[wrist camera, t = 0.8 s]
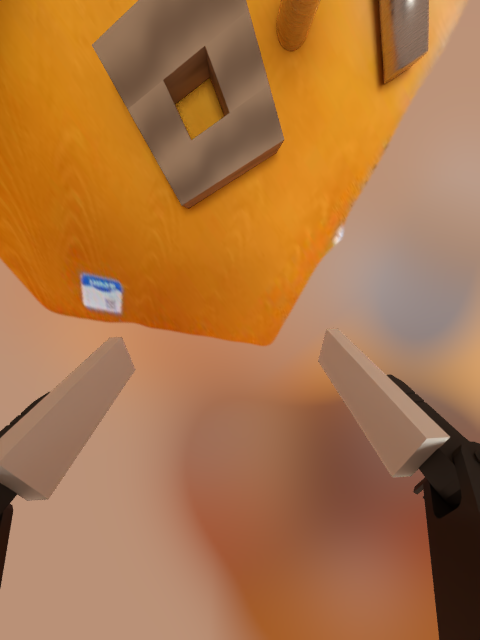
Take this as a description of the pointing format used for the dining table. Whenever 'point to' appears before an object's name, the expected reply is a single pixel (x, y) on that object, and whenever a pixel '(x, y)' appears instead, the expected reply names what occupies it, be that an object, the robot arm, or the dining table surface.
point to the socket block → (183, 77)
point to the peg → (295, 22)
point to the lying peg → (403, 34)
